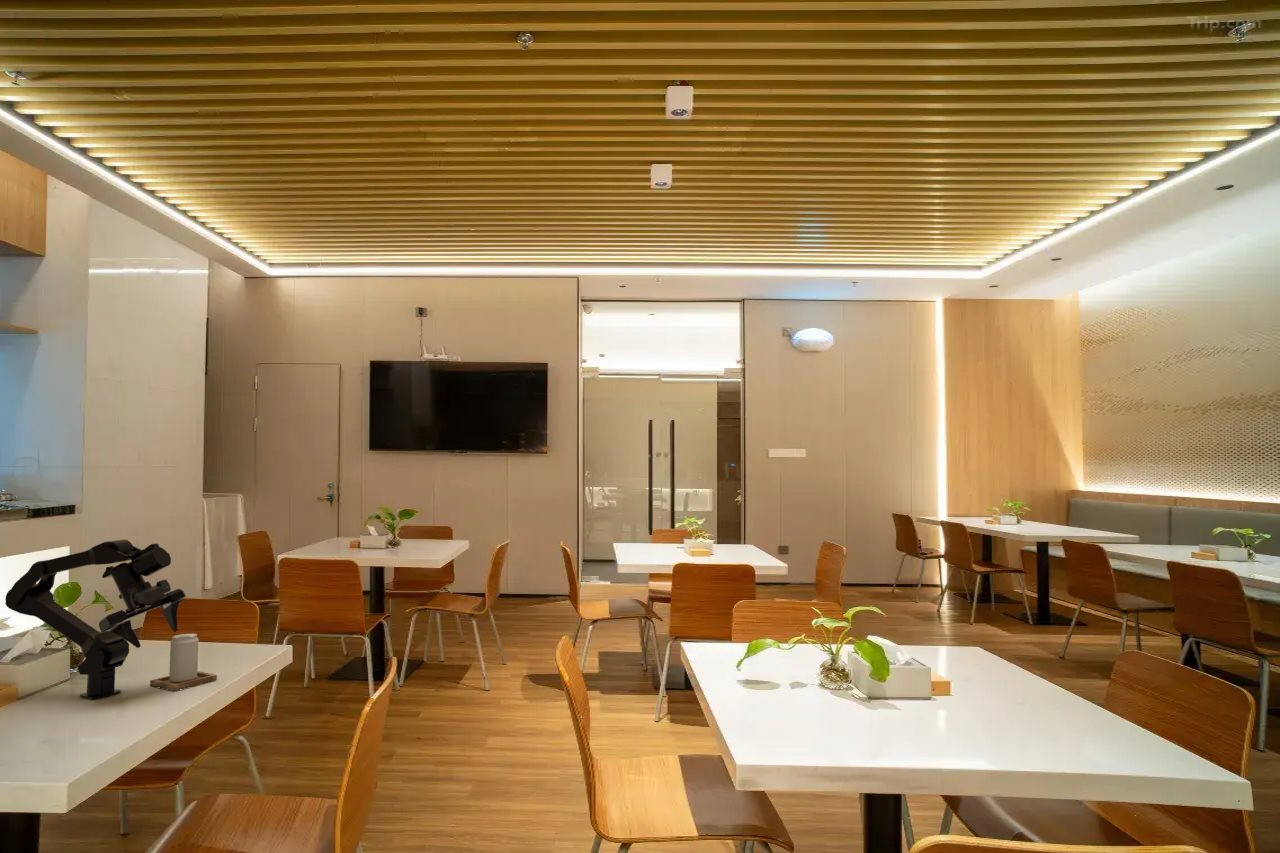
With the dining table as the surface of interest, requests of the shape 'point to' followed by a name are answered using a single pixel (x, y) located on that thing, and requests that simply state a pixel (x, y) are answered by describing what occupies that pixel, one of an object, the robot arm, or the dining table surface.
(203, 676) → the tray
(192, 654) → the beverage can
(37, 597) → the robot arm
